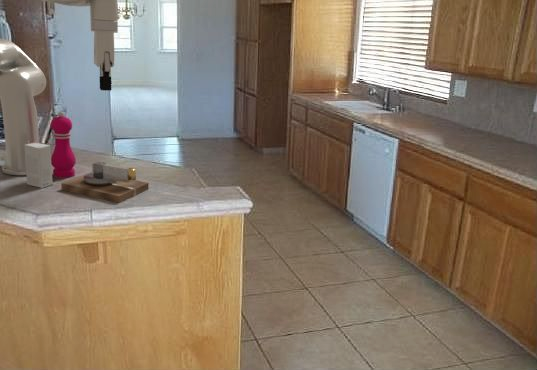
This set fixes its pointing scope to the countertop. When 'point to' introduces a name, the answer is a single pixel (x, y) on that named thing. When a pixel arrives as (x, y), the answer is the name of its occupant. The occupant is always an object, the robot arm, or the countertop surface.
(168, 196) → the countertop surface
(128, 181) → the dial
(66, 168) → the pepper mill
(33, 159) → the skincare box
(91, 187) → the walnut board
